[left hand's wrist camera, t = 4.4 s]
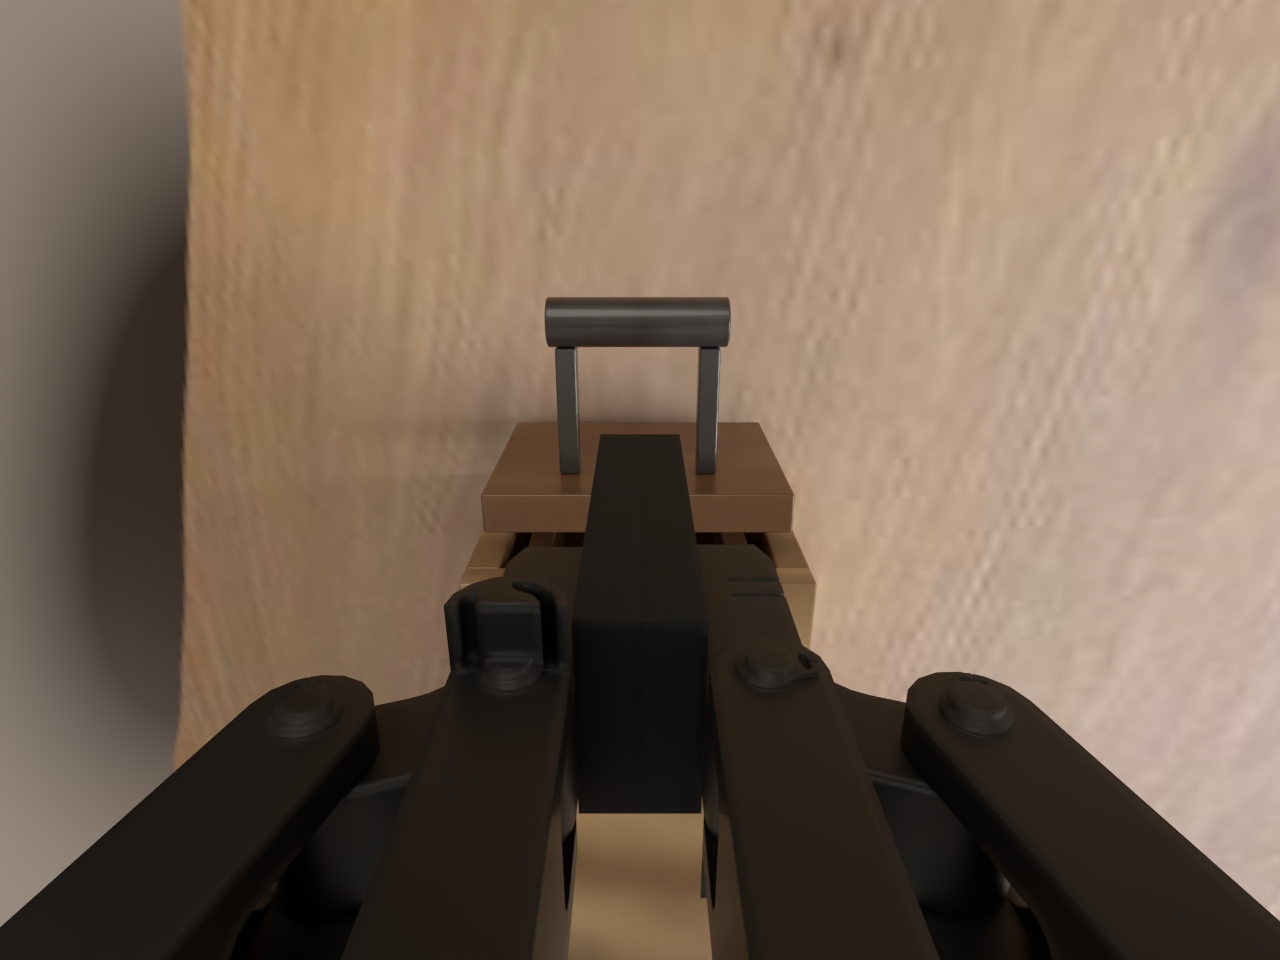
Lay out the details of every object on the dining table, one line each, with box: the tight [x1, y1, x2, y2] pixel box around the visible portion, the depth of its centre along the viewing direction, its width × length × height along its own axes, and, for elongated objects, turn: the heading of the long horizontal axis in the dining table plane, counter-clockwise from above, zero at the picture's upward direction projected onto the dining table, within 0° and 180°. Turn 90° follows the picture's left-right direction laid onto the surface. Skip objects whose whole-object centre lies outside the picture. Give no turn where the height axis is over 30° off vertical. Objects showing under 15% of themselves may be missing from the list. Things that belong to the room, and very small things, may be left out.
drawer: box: [481, 297, 795, 547], centre depth 27 cm, size 25×9×7 cm, turn 0°
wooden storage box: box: [459, 530, 817, 960], centre depth 29 cm, size 21×10×9 cm, turn 0°
